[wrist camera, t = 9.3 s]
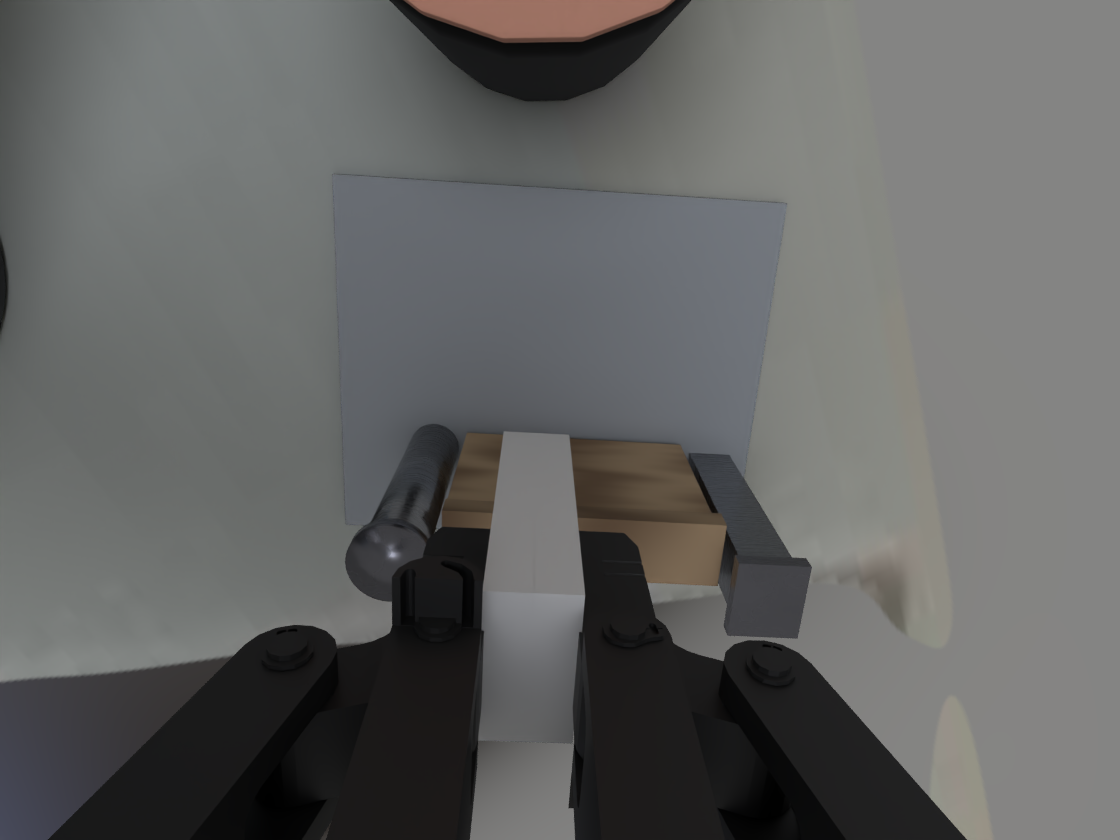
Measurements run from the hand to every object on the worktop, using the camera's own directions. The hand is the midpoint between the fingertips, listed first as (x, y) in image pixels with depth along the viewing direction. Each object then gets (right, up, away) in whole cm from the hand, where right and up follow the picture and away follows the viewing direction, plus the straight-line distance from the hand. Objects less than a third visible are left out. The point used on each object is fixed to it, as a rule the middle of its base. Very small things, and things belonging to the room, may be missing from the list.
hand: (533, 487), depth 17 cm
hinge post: (-6, 0, +20) cm, 20 cm away
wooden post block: (+1, 0, +19) cm, 19 cm away
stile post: (+8, -1, +20) cm, 22 cm away
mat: (0, +4, +19) cm, 19 cm away
